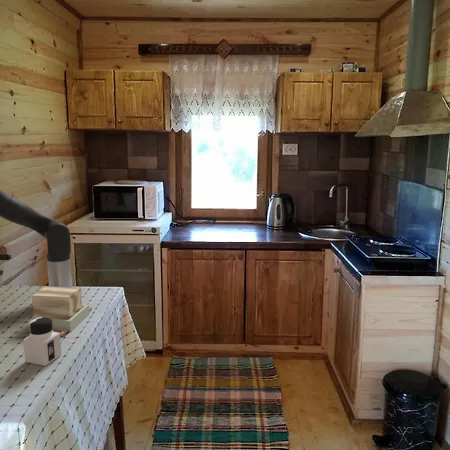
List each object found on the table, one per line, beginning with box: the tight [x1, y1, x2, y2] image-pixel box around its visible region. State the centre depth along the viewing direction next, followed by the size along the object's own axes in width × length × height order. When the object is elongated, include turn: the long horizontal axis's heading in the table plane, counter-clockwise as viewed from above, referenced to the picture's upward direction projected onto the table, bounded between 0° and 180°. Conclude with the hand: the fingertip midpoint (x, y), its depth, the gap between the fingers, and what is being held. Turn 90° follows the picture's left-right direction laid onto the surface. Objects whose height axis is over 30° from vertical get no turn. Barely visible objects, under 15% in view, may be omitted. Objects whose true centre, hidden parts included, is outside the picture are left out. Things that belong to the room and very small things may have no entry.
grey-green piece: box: [52, 303, 93, 338], centre depth 168 cm, size 25×7×4 cm, turn 173°
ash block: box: [31, 285, 83, 320], centre depth 168 cm, size 10×14×12 cm
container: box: [23, 317, 62, 367], centre depth 140 cm, size 8×8×13 cm
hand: (9, 257), depth 167 cm, fingers closed
